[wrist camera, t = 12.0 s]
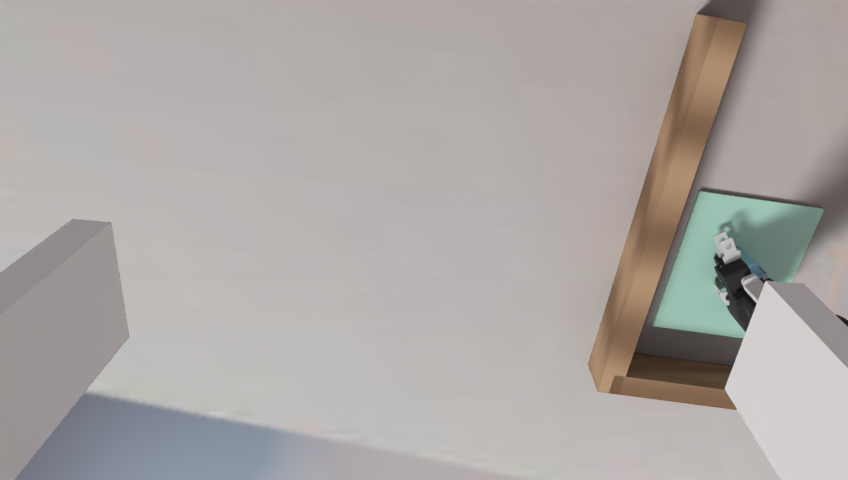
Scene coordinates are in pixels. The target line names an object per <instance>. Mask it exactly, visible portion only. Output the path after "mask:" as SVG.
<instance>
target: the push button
mask: <svg viewBox="0 0 848 480" xmlns="http://www.w3.org/2000/svg"><path fill="white" fill-rule="evenodd" d="M721 237H724V238H725V240H723V241H720V242H719V239H720V238H721ZM714 240H715V242H716V245H717V247H718V250H716V252H717V254H718V256H715V257H714V260H715V263H716V265H717V266H715V267H714V269H715V271H716V273H717V275H718V277H719V278H720V280H721V281H722V283H723V285H724V286H725V288H726V291H723V292H721V290H720V289H719V287H718V286H717V285H716V284H715V283H713V285H714V287H715V290H716V292H717V294H718V296H719V297H720V298H721V299H722V301H723V302H724V303H725V304H726V306H727V309H728V311H729V312H730V314H731V315H732V316H733V318H734V319H735V320H736V321H737V323H738V324H739V325H740V326H741V327H742V329H743V330H744V331H745V332H746V331H747V328H748V326H749V323H750V320H751V318H752V315H753V312H754V310H755V307H756V305H757V302H758V299H759V297H760V294H761V291H762V289H763V286H764V283H765V281H774V280H772V279H771V278H769V276H768V273H766V271H765V270H764V269H763V268H762V267H761V266H760V265H759V264H757V262H756V261H755V260H754V259H753V258H751V257H750V256H749V255H748V254H747V253H746V252H745V251H744V250H743V249H742V248H741V247H740V246H738V247H735V244H734V241H733V239H732V238H731V237H729V238H728V236H727V233H726V232H725V231H723V232H721V233H719V234H717V235H714ZM762 272H763V273H762ZM763 274H764V275H763ZM835 315H836V314H835ZM836 316H837V317H838V318H839V319H840V320H841V321H842V322H843V323H845V324H846V325H847V326H848V320H846V319H845V318H843V317H841V316H839V315H836Z"/></svg>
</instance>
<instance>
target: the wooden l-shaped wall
mask: <svg viewBox="0 0 848 480" xmlns="http://www.w3.org/2000/svg"><path fill="white" fill-rule="evenodd" d="M746 26H747V23H744V22H739V21H735V20H730V19H725V18H720V17H713V16H707V15H700V14H696V17H695V21H694V24H693V27H692V30H691V34H690V37H689V40H688V43H687V47H686V50H685V53H684V56H683V59H682V63H681V66H680V69H679V72H678V76H677V79H676V82H675V85H674V89H673V92H672V95H671V98H670V102H669V105H668V108H667V111H666V114H665V118H664V121H663V124H662V127H661V131H660V134H659V137H658V140H657V144H656V147H655V150H654V153H653V156H652V160H651V163H650V166H649V169H648V173H647V176H646V179H645V182H644V186H643V189H642V192H641V195H640V199H639V202H638V205H637V208H636V211H635V215H634V218H633V221H632V224H631V228H630V231H629V234H628V237H627V241H626V244H625V247H624V250H623V254H622V257H621V260H620V263H619V266H618V270H617V273H616V276H615V279H614V283H613V286H612V289H611V292H610V296H609V299H608V302H607V305H606V309H605V312H604V315H603V318H602V321H601V325H600V328H599V331H598V334H597V338H596V341H595V344H594V347H593V351H592V354H591V357H590V360H589V363H588V366H589V369H590V372H591V374H592V377H593V380H594V383H595V385H596V388H597V391H598V392H604V393H612V394H619V395H627V396H635V397H642V398H650V399H657V400H665V401H673V402H680V403H688V404H695V405H703V406H711V407H718V408H726V409H734V410H737V408H736V407H735V405H734V403H733V402H732V400H731V399H730V397H729V395H728V394H727V392H726V391H725V386H726V384H727V381H728V378H729V376H730V373H731V370H732V368H733V366H727V365H719V364H712V363H704V362H697V361H689V360H682V359H674V358H667V357H659V356H652V355H645V354H637V353H634V351H635V348H636V345H637V342H638V339H639V336H640V333H641V331H642V328H643V325H644V322H645V319H646V316H647V313H648V310H649V307H650V304H651V302H652V299H653V296H654V293H655V290H656V287H657V284H658V281H659V278H660V275H661V272H662V270H663V267H664V264H665V261H666V258H667V255H668V252H669V249H670V246H671V243H672V241H673V238H674V235H675V232H676V229H677V226H678V223H679V220H680V217H681V214H682V211H683V209H684V206H685V203H686V200H687V197H688V194H689V191H690V188H691V185H692V182H693V179H694V177H695V174H696V171H697V168H698V165H699V162H700V159H701V156H702V153H703V150H704V148H705V145H706V142H707V139H708V136H709V133H710V130H711V127H712V124H713V121H714V118H715V116H716V113H717V110H718V107H719V104H720V101H721V98H722V95H723V92H724V89H725V87H726V84H727V81H728V78H729V75H730V72H731V69H732V66H733V63H734V60H735V57H736V55H737V52H738V49H739V46H740V43H741V40H742V37H743V34H744V31H745V28H746Z"/></svg>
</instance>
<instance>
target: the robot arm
mask: <svg viewBox="0 0 848 480" xmlns="http://www.w3.org/2000/svg"><path fill="white" fill-rule="evenodd" d="M128 337H129V332H128V326H127V319H126V313H125V307H124V300H123V294H122V288H121V281H120V275H119V269H118V262H117V256H116V250H115V243H114V237H113V231H112V225H111V222H100V221H89V220H78V219H72V220H71V221H69V222H68V223H67V224H65V225H64V226H63V227H61V228H60V229H59V230H57V231H56V232H55V233H53V234H52V235H51V236H49V237H48V238H47V239H45V240H44V241H43V242H41V243H40V244H39V245H37V246H36V247H34V248H33V249H32V250H30V251H29V252H28V253H26V254H25V255H24V256H22V257H21V258H20V259H18V260H17V261H16V262H14V263H13V264H12V265H10V266H9V267H8V268H6V269H5V270H4V271H2V272H1V273H0V480H14V479H15V478H16V477H17V476H18V474H19V473H20V472H21V470H22V469H23V468H24V467H25V466H26V464H27V463H28V462H29V461H30V459H31V458H32V457H33V456H34V454H35V453H36V452H37V451H38V449H39V448H40V447H41V446H42V444H43V443H44V442H45V441H46V440H47V438H48V437H49V436H50V434H51V433H52V432H53V431H54V429H55V428H56V427H57V426H58V425H59V423H60V422H61V421H62V420H63V418H64V417H65V416H66V415H67V413H68V412H69V411H70V410H71V408H72V407H73V406H74V405H75V403H76V402H77V401H78V400H79V398H80V397H81V396H82V395H83V393H84V392H85V391H86V390H87V389H88V387H89V386H90V385H91V384H92V382H93V381H94V380H95V379H96V377H97V376H98V375H99V374H100V372H101V371H102V370H103V369H104V367H105V366H106V365H107V364H108V362H109V361H110V360H111V359H112V357H113V356H114V355H115V354H116V352H117V351H118V350H119V349H120V347H121V346H122V345H123V344H124V342H125V341H126V340H127V339H128ZM725 391H726V392H727V394H728V395H729V397H730V399H731V400H732V402H733V403H734V405H735V407H736V408H737V410H738V412H739V413H740V415H741V416H742V418H743V420H744V421H745V423H746V424H747V426H748V428H749V429H750V431H751V433H752V434H753V436H754V437H755V439H756V441H757V442H758V444H759V446H760V447H761V449H762V450H763V452H764V454H765V455H766V457H767V458H768V460H769V462H770V463H771V465H772V467H773V468H774V470H775V471H776V473H777V475H778V476H779V478H780V479H781V480H848V326H847V325H846V324H845V323H843V322H842V321H841V320H840V319H839V318H838V317H837V316H836V315H835V314H834V313H833V312H832V311H831V310H830V309H829V308H828V307H827V306H826V305H825V304H824V303H823V302H822V301H821V300H820V299H819V298H818V297H816V296H815V295H814V294H813V293H812V292H811V291H810V290H809V289H808V288H807V287H806V286H805V285H804V284H798V283H787V282H775V281H765V283H764V286H763V289H762V291H761V294H760V297H759V299H758V302H757V305H756V307H755V310H754V312H753V315H752V318H751V320H750V323H749V326H748V328H747V331H746V334H745V336H744V339H743V341H742V344H741V347H740V349H739V352H738V355H737V357H736V360H735V363H734V365H733V368H732V370H731V373H730V376H729V378H728V381H727V384H726V386H725Z"/></svg>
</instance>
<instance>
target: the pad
mask: <svg viewBox="0 0 848 480" xmlns="http://www.w3.org/2000/svg"><path fill="white" fill-rule="evenodd" d="M823 212H824V209H823V208H818V207H811V206H804V205H797V204H790V203H783V202H776V201H769V200H762V199H755V198H748V197H741V196H734V195H728V194H721V193H714V192H707V191H700V190H699V192H698V195H697V198H696V201H695V204H694V206H693V209H692V212H691V215H690V218H689V221H688V223H687V226H686V229H685V232H684V235H683V238H682V241H681V243H680V246H679V249H678V252H677V255H676V258H675V260H674V263H673V266H672V269H671V272H670V275H669V278H668V280H667V283H666V286H665V289H664V292H663V295H662V298H661V300H660V303H659V306H658V309H657V312H656V315H655V317H654V320H653V323H652V325H653V326H655V327H663V328H670V329H677V330H685V331H692V332H700V333H707V334H714V335H722V336H729V337H737V338H744V336H745V334H746V332H745V331H744V330H743V329H742V327H741V326H740V325H739V324H738V323H737V321H736V320H735V319H734V318H733V316H732V315H731V314H730V312H729V311H728V309H727V306H726V304H725V303H724V302H723V301H722V299H721V298H720V297H719V296H718V294H717V292H716V290H715V287H714V285H713V283H715V284H716V285H717V286H718V287H719V289H720V290H721V292H723V291H726V288H725V286H724V285H723V283H722V281H721V280H720V278H719V277H718V275H717V273H716V271H715V269H714V267H715V266H717V265H716V263H715V260H714V257H715V256H718V254H717V252H716V250H718V247H717V245H716V242H715V240H714V235H717V234H719V233H721V232H723V231H725V232H726V233H727V236H728V238H729V237H731V238H732V239H733V241H734V244H735V247H738V246H740V247H741V248H742V249H743V250H744V251H745V252H746V253H747V254H748V255H749V256H750V257H751V258H753V259H754V260H755V261H756V262H757V264H759V265H760V266H761V267H762V268H763V269H764V270H765V271H766V273H768V276H769V278H771V279H772V280H774V281H775V282H787V283H792V281H793V278H794V276H795V274H796V272H797V270H798V267H799V265H800V263H801V261H802V258H803V256H804V254H805V252H806V250H807V247H808V245H809V243H810V241H811V238H812V236H813V234H814V232H815V230H816V227H817V225H818V223H819V221H820V218H821V216H822V214H823ZM723 240H725V238H724V237H721V238H720V239H719V242H720V241H723ZM762 273H763V272H762ZM763 275H764V274H763Z"/></svg>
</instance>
